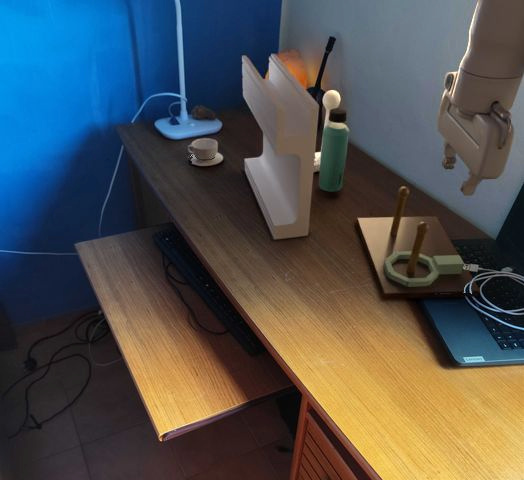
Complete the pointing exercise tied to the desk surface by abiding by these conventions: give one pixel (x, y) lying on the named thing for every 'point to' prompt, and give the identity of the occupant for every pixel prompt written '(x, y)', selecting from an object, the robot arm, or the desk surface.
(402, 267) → the peg rack
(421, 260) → the hanging tag
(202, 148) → the teacup
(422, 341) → the desk surface
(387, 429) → the desk surface
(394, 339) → the desk surface
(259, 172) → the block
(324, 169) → the beverage bottle
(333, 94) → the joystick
